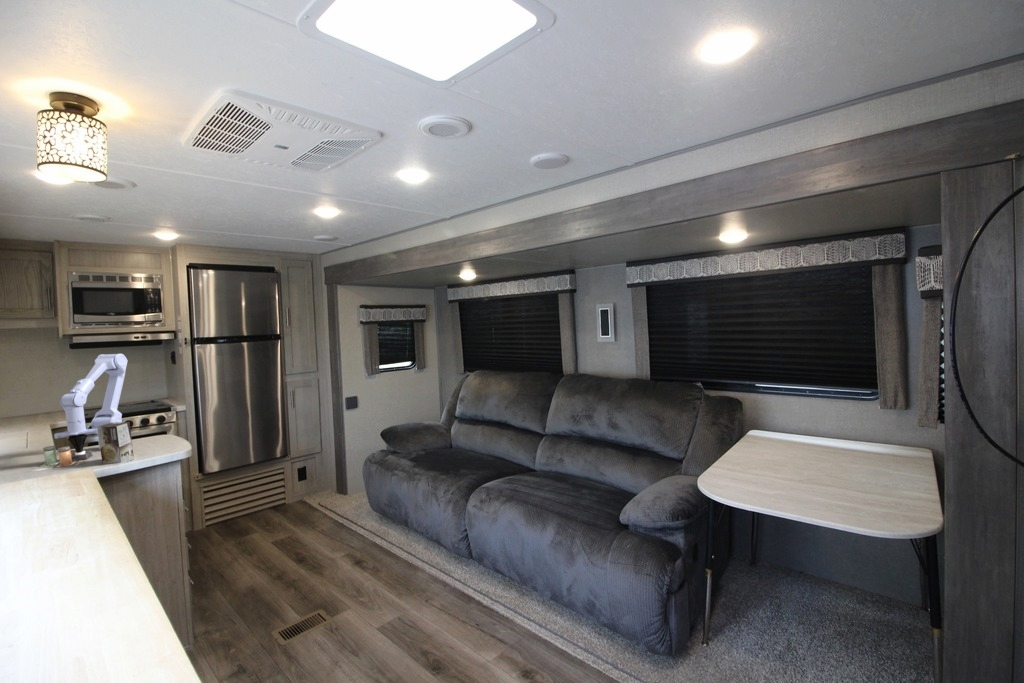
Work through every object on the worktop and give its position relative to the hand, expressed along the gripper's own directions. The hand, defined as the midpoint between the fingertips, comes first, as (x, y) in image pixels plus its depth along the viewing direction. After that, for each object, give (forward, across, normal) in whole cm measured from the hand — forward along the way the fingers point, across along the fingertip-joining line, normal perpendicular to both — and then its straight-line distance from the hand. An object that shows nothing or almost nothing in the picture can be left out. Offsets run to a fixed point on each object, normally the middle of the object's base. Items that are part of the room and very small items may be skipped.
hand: (79, 452), depth 204 cm
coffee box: (+4, +16, -11) cm, 20 cm away
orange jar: (+3, -2, -6) cm, 7 cm away
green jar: (+3, -9, -1) cm, 10 cm away
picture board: (+4, -5, -4) cm, 7 cm away
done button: (+4, 0, 0) cm, 4 cm away
